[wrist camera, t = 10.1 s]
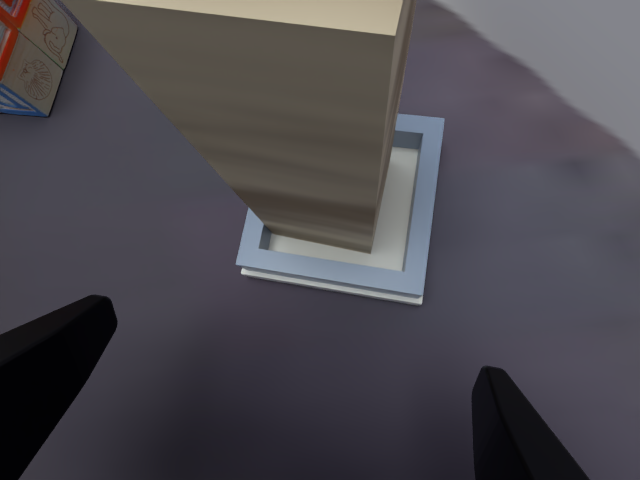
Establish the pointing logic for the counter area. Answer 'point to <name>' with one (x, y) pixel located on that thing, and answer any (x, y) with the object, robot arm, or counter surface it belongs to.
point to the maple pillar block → (275, 98)
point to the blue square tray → (390, 235)
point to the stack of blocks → (32, 54)
